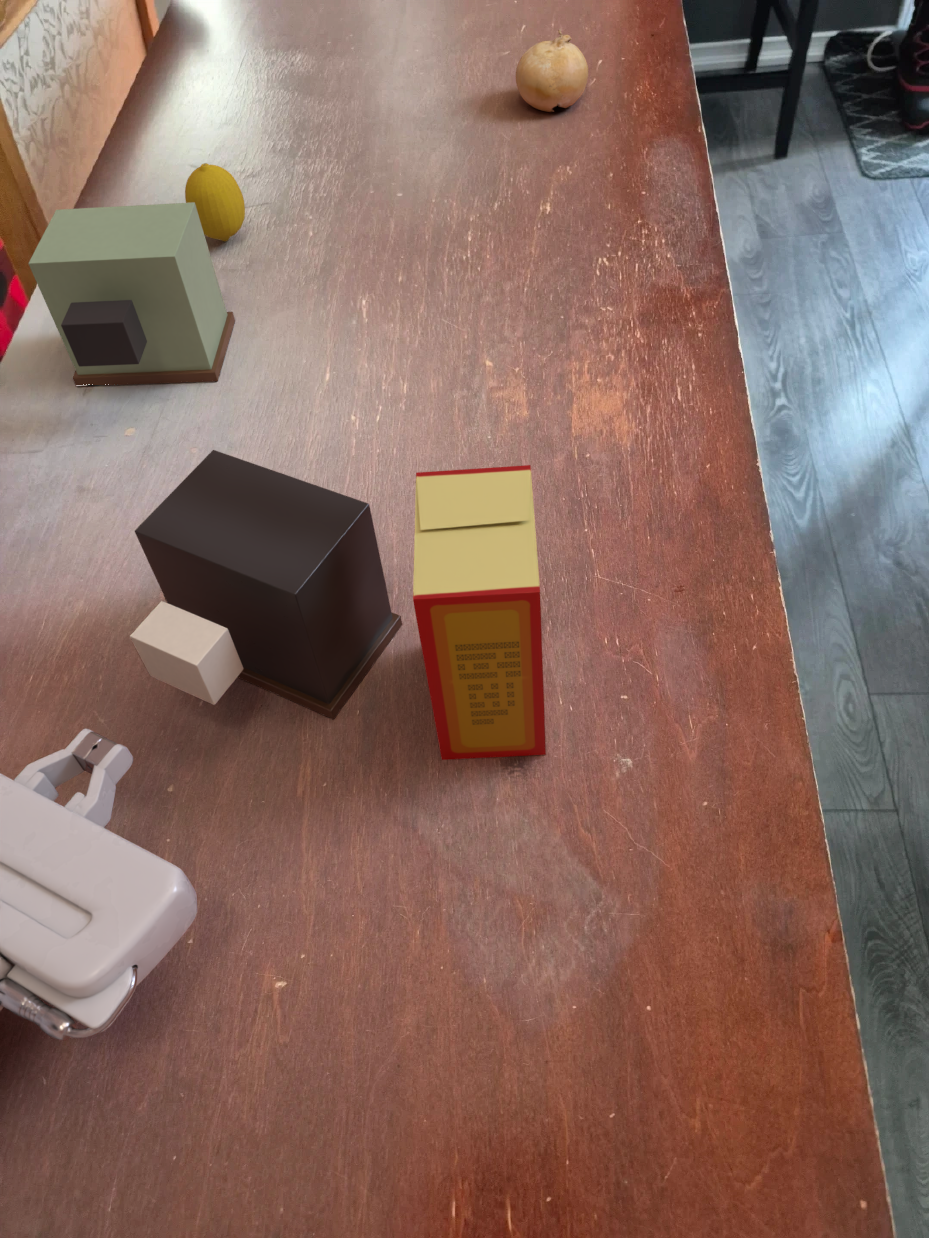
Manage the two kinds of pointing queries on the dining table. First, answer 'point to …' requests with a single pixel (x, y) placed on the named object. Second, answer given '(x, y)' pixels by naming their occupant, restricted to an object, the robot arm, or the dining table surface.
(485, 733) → the baking soda box
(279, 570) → the black key block
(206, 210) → the lemon
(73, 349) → the dark brown block
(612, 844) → the dining table surface
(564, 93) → the onion
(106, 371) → the green key block
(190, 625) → the white rectangular block
